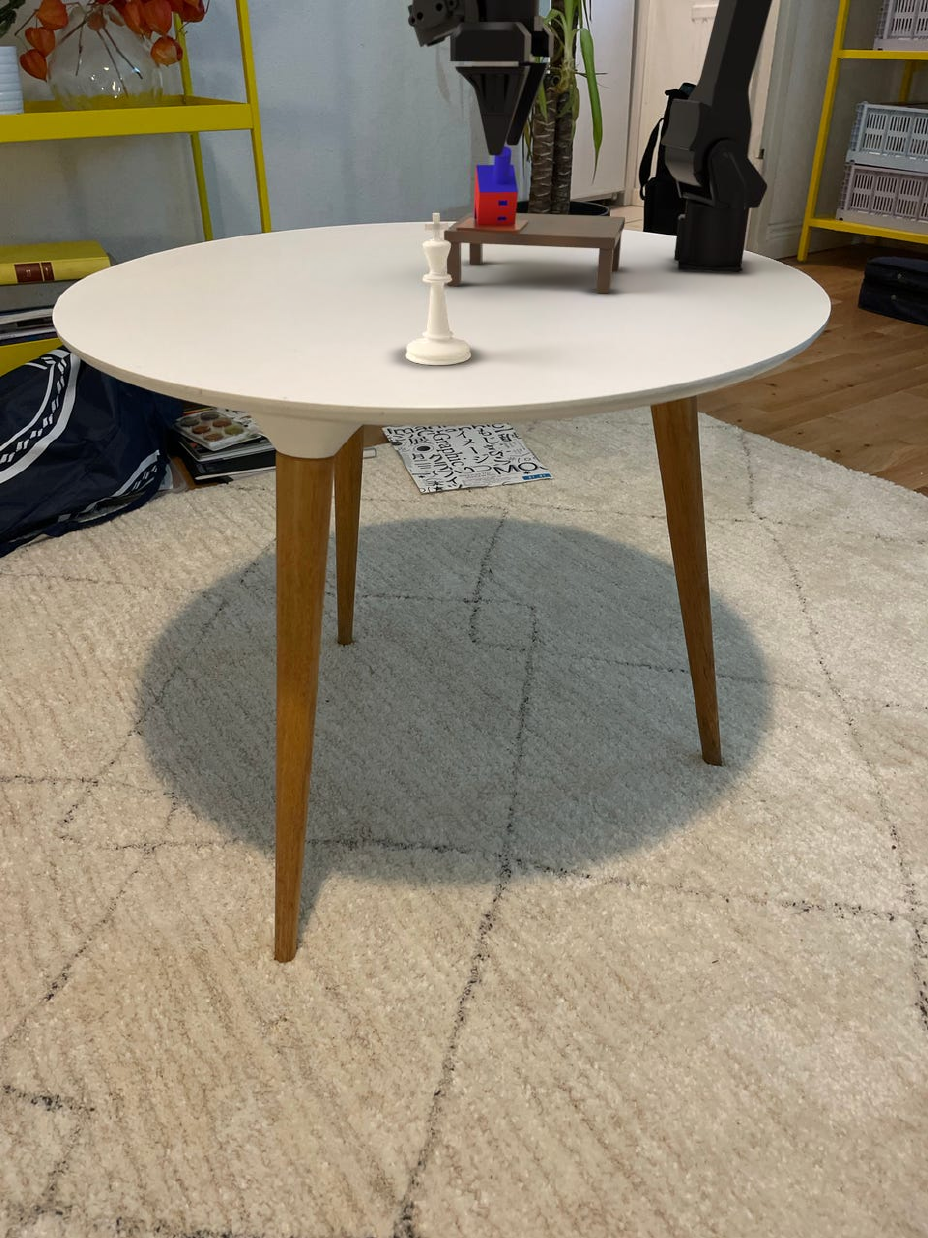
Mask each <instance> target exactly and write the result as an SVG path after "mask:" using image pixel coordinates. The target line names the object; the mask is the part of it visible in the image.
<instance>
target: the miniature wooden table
mask: <svg viewBox="0 0 928 1238" xmlns="http://www.w3.org/2000/svg"><path fill="white" fill-rule="evenodd" d="M625 222H626V217H625V216H611V215H610V216H608V215H585V214H584V215H582V214H554V213H553V214H551V213H525V212H521V213H520V212H516V220H515V225H478V223H477V219H474V211H470V212H468V213H466V214H465V215H464V216H462V217H461V218H459V220H457V221H455V222H454V223H453V224H452V225H450V226H449V230H443V240H447V241H449V242H450V243H451V248H450V252H449V254H448V257H447V262H446V274H449V275H451V278H452V281H450V282H448V283H446V286H447V287H460V285H462V244H469V245H468V247H469V248H468V249H469V252H468V253H469V255H468V257H469V260H468V261H469V262H468V263H469V265H474V266H475V265H477V266H480V265H482V264H483V262H484V261H483V259H484V257H483V255H484V253H483V252H484V251H483V250H484V245H500V246H501V245H502V246H503V245H504V246H529V247H550V248H551V247H553V248H573V249H574V248H575V249H576V248H577V249H579V248H580V249H599V250H598V263H597V275H596V278H597V279H596V294H604V295H605V294H608V295H609V294H610V292H611V286H612V285H611V283H612V272H618V271H619V270H620V259H621V246H622V245H621V244H622V234H623V231H624V228H625V224H626V223H625Z"/></svg>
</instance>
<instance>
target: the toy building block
mask: <svg viewBox="0 0 928 1238" xmlns="http://www.w3.org/2000/svg"><path fill="white" fill-rule="evenodd" d="M511 160H512V149H511V148H510V147H508V146H505V145H504V148H503V151H502V154H501V155H499V156H495V155H494V160H493V164H476V165H475V177H474V178H475V180H474V181H475V182H474V203H473V212H474V219H477V223H478V225H515V220H516V213H517V207H518V199H519V198H518V196H519V190H518V189H519V188H518V184H517V177H516V171H515V170H516V169H515V165H514V164H511V162H512V161H511Z"/></svg>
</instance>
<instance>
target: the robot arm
mask: <svg viewBox="0 0 928 1238" xmlns="http://www.w3.org/2000/svg"><path fill="white" fill-rule="evenodd" d="M540 1H541V0H412V1H411V2H412V3H411V4H410V5H407V11H408V18H407V23H408V25H409V26H410V27H412V28H413V29H414V33H415V35H416V39H417V41H418V45H419V47H420V48H423V47H425V46H426V47H427V48H429V47H433V46H436V45H438V44H441V43H443V42H445V41H446V38H448V37H449V43H450V44H449V51H450V52H449V58H450V59H449V61H450V62H471V65H456V66H454V69H455V70H456V72H457V73H458V74H460V76H462V77H463V78H464V79H465V80H466V81H467V82H468V84H469V85H471V87H472V89H474V92H475V96H476V101H477V104H478V110H479V115H480V119H481V122H482V128H483V133H484V138H485V142H486V147H487V152H488V154H489V155H490V156H494V157H495V156H499V155H501V154H502V151H503V148H504V146H505V145H507V146H514V147H515V146H518V145H519V144H520V141H521V138H522V136H523V133H524V131H525V129H526V126H527V123H528V120H529V118H530V115H531V112H532V109H533V107H534V105H535V103H536V100H537V97H538V95H539V92H540V90H541V87H542V85H543V83H544V80H545V77H546V75H547V73H548V70H549V67H551V66H550V65H551V62H550V61H536V58H543V59H545V58H553V57H554V46H555V45H554V44H555V43H554V42H555V34H554V33H553V32H552V31H551V29H550V28H549V27H548V26H547V25H546V23H543V17H540ZM773 1H774V0H718V4H717V9H716V12H715V16H714V20H713V24H712V28H711V31H710V32H711V33H710V37H709V41H708V43H707V44H708V45H707V48H706V53H705V57H704V59H703V60H704V61H703V63H702V64H703V65H702V69H701V72H700V77H699V79H698V82H697V84H696V86H695V87H694V88H693V90H692V92H691V93H690V95H689V96H688V98H687V99H680V98H673V99H672V102H671V104H670V109H669V118H668V126H667V129H666V131H665V134H664V135H663V137H662V139H661V141H660V144H661V145H663V146H665V152H664V164H665V166H666V167H667V169H668V171H669V173H670V175H671V176H672V177H673V178H674V179H675V183H676V188H677V192H678V196H679V198H681V199H686V202H685V211H684V214H682V213H681V214H680V215H679V216H678V218H677V228H676V236H675V247H674V257H673V260H674V261H675V262H677V269H678V270H682V271H683V270H684V271H702V272H703V271H704V272H705V271H706V272H725V273H726V272H727V273H742V272H743V270H744V263H743V257H744V250H745V244H746V238H747V237H746V236H747V231H748V222H749V215H750V209H753V208H754V209H755V208H756V209H757V208H759V207H760V205H761V203H762V201H763V198H764V196H765V194H766V192H767V190H768V183H767V182H766V181H765V179H764V178H763V177H762V175H761V173H759V171H758V169H757V168H756V167H755V166H754V164H753V163H752V161H751V160H750V158H749V152H750V144H751V138H752V130H753V119H752V111H751V110H752V109H751V102H750V100H751V99H750V86H751V82H752V78H753V74H754V71H755V67H756V64H757V61H758V60H757V59H758V56H759V52H760V48H761V44H762V41H763V37H764V34H765V30H766V26H767V23H768V19H769V15H770V11H771V8H772V4H773Z"/></svg>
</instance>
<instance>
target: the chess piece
mask: <svg viewBox="0 0 928 1238" xmlns="http://www.w3.org/2000/svg"><path fill="white" fill-rule="evenodd" d="M440 217H441V214H440V212H433V213H432V222H424V223H423V226H424V231H432V232H433V233H432V234H433V237H432V238H430V239H427V240H425V241H424V242H423V243H422V249H423V252H424V255H425V257H426V262H427V265H428V267H429V270H430V271H428V272H429V273H426V274H424V275H423V276H422V277H423V278H422V282H423V283H427V284H430V291H429V292H430V293H429V305H428V317H427V324H426V330H425V331H423V332H422V336H423V337H419V338H417V339H414V340H412V341H410V342H409V343H408V344H407V345H406V347H405V348H406V353H405V358H406V359H407V360H408V361H410V362H412V363H416V364H421V365H427V366H447V365H448V366H449V365H456V364H460V363H463V362H466V361H467V360H469V359H470V358H471V357H472V353H471V351H470V350H471V346H470V344H469V343H468V342H467V341H465V340H463V339H460V338H457V337H454V334H455V333H454V332H453V331H451V330H450V324H449V320H448V319H449V318H448V311H447V302H446V294H445V284H447V283H448V282H450V281H452V278H451V275H449V274H447V272H446V271H445V268H446V266H447V257H448V254H449V252H450V248H451V243H450V242H449V241H447V240H444V238H443V237H442V238H441V231H445V230H449V227H450V226H449V225H450V223H449V222H441V221H440V220H441V218H440Z"/></svg>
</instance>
